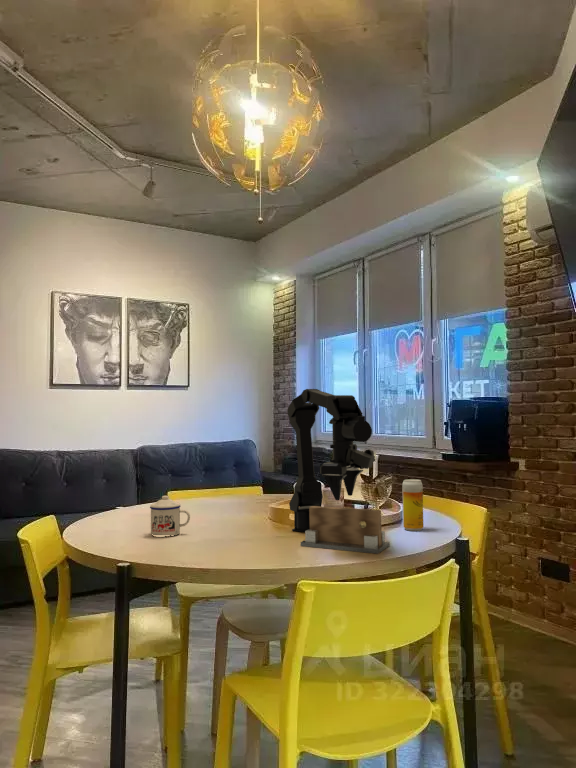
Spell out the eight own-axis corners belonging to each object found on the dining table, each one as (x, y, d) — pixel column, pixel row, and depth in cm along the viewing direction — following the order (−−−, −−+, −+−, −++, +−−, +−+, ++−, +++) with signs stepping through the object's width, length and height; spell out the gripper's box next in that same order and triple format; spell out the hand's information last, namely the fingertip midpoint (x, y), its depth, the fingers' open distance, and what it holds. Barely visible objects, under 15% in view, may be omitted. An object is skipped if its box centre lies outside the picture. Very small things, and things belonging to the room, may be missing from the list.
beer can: (423, 531, 178) (422, 481, 178) (403, 531, 179) (402, 481, 180) (423, 527, 184) (422, 479, 184) (403, 527, 185) (402, 479, 186)
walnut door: (308, 540, 163) (307, 507, 164) (313, 538, 166) (312, 505, 167) (377, 547, 154) (376, 512, 154) (381, 544, 157) (381, 510, 158)
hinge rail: (300, 545, 161) (300, 531, 161) (315, 538, 170) (315, 524, 170) (377, 553, 151) (377, 537, 151) (389, 545, 160) (389, 530, 160)
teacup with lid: (147, 538, 174) (147, 498, 175) (153, 532, 183) (152, 494, 184) (188, 537, 175) (188, 497, 175) (191, 531, 184) (191, 493, 184)
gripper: (358, 442, 150) (359, 504, 150) (381, 439, 167) (383, 494, 166) (318, 442, 156) (319, 502, 155) (345, 439, 172) (346, 492, 171)
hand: (344, 497), depth 162 cm, fingers open, 9 cm apart
